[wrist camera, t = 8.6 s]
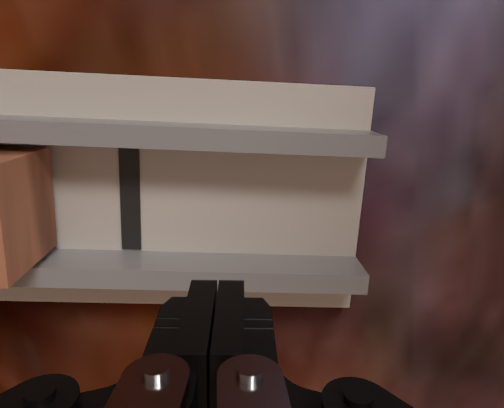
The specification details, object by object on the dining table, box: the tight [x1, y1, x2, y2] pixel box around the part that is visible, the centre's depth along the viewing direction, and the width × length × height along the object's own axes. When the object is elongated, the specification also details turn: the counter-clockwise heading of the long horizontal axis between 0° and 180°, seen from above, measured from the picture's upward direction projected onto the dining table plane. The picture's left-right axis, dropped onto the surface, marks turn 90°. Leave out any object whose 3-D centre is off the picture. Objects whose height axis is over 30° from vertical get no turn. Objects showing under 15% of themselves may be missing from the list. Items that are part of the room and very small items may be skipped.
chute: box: [0, 69, 388, 308], centre depth 20 cm, size 26×12×5 cm, turn 87°
